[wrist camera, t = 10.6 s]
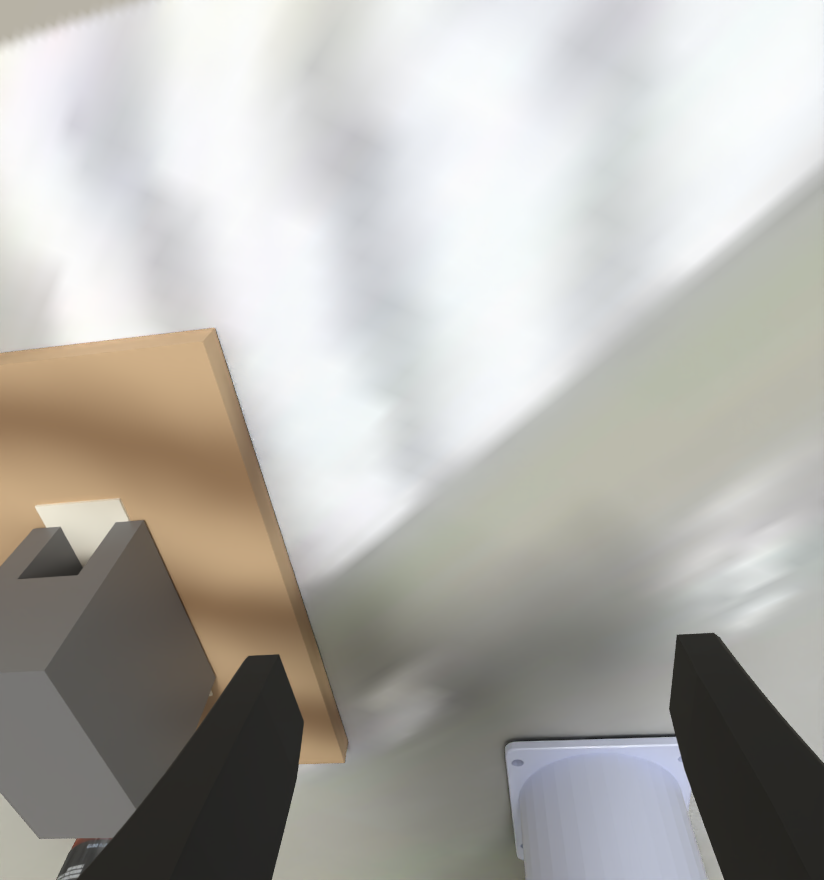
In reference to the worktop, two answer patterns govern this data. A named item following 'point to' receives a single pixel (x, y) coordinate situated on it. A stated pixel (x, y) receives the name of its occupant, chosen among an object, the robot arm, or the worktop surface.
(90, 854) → the supplement bottle
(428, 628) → the worktop surface
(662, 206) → the worktop surface
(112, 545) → the block
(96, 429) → the pin board
